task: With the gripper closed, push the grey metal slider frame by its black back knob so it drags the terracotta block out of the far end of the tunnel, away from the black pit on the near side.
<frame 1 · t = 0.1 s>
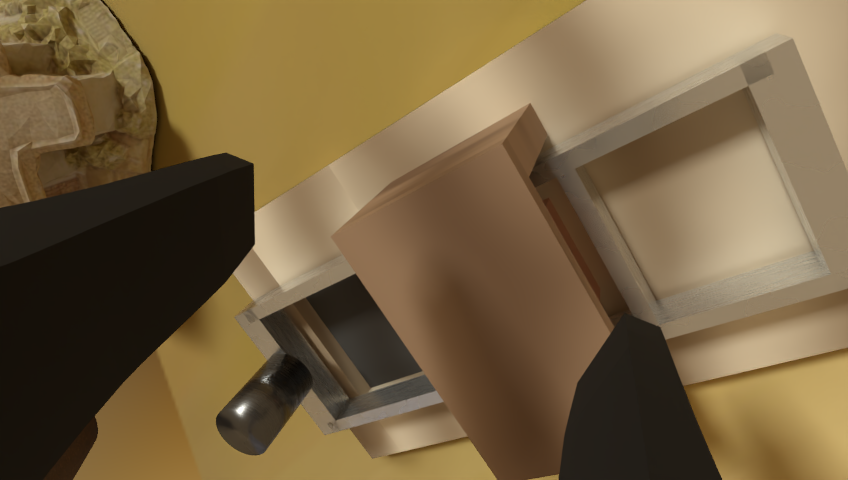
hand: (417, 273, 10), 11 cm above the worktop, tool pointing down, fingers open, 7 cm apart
tunnel deck: (529, 252, 20), on the worktop
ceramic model: (83, 134, 26), on the worktop
block: (525, 264, 19), point 1 cm above the worktop, touching tunnel deck
plant pot: (60, 402, 38), on the worktop
slider frame: (468, 320, 18), point 4 cm above the worktop, slide at 0.0 cm
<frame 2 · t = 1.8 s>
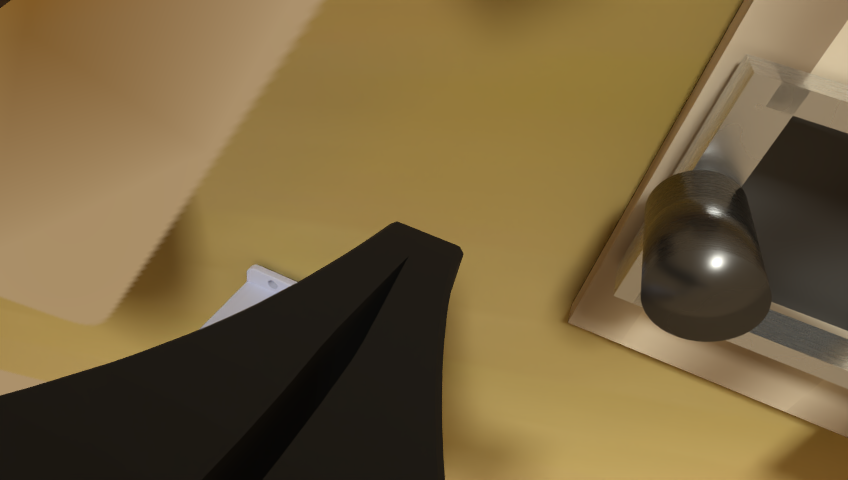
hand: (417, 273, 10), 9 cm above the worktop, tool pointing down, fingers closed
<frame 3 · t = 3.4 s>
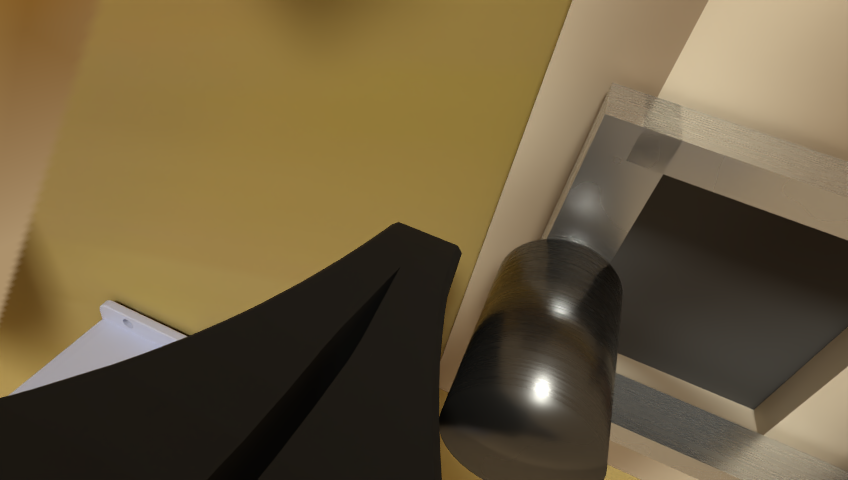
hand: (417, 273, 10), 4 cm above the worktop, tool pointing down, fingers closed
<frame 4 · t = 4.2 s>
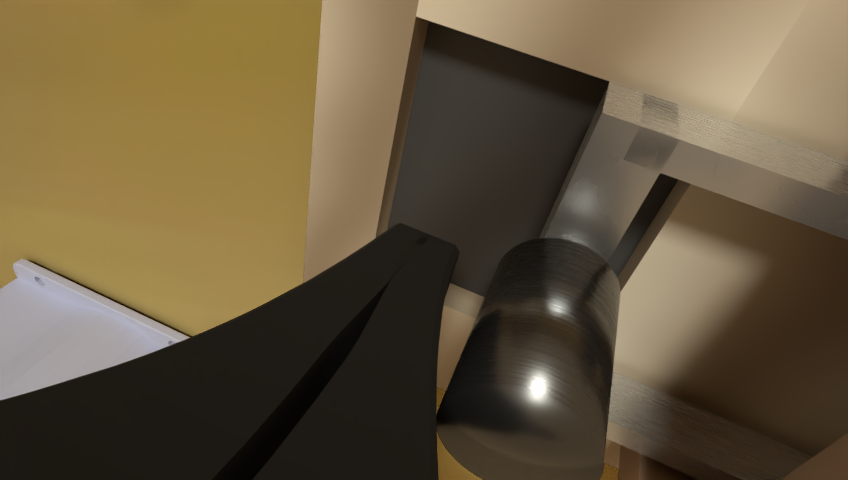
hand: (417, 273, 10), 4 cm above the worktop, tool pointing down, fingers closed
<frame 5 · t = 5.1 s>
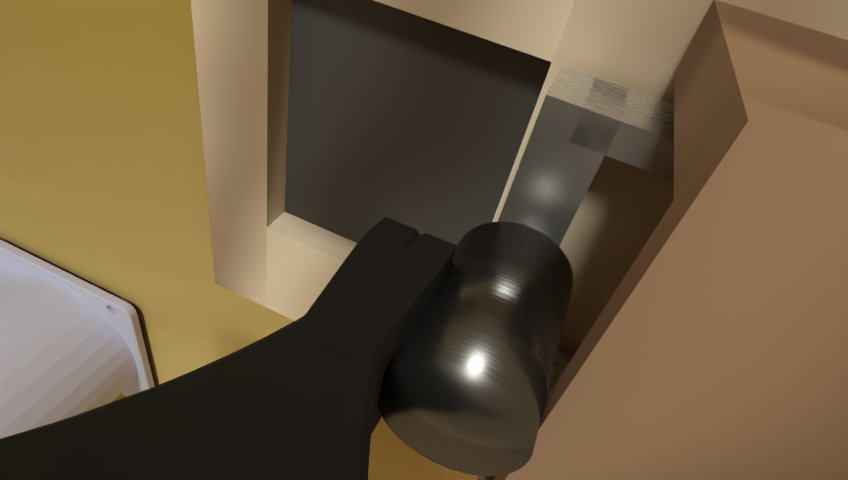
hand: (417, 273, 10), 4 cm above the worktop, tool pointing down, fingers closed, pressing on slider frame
tunnel deck: (715, 272, 12), on the worktop
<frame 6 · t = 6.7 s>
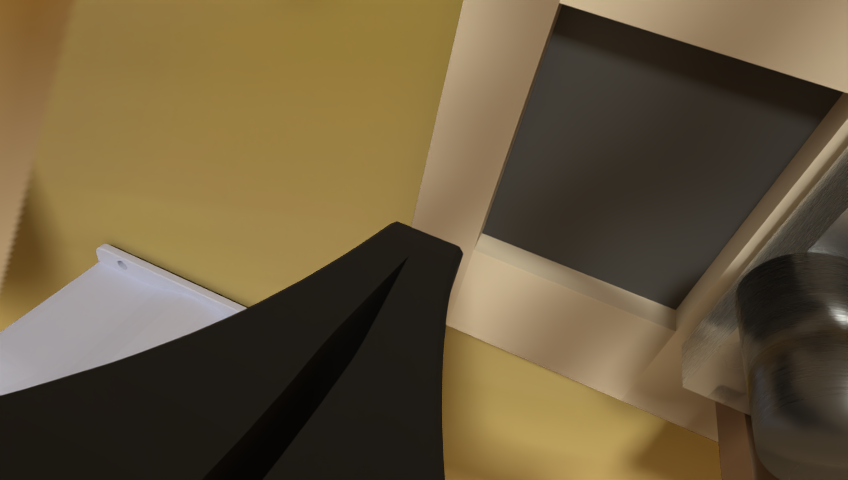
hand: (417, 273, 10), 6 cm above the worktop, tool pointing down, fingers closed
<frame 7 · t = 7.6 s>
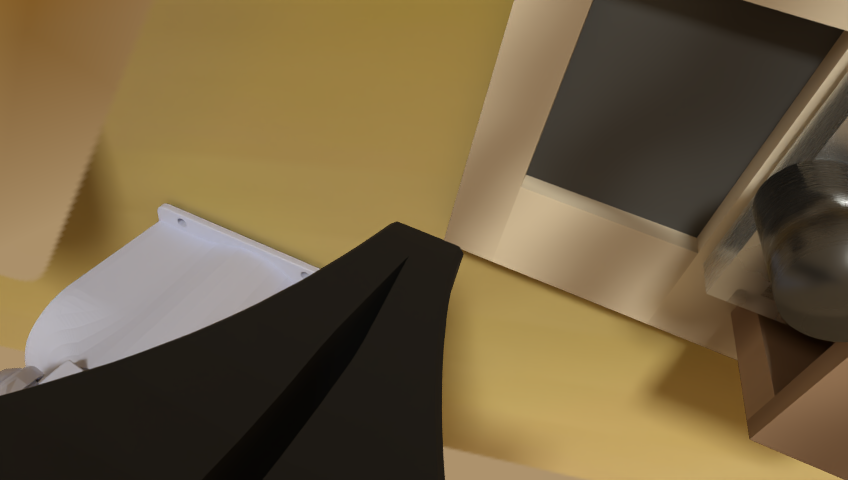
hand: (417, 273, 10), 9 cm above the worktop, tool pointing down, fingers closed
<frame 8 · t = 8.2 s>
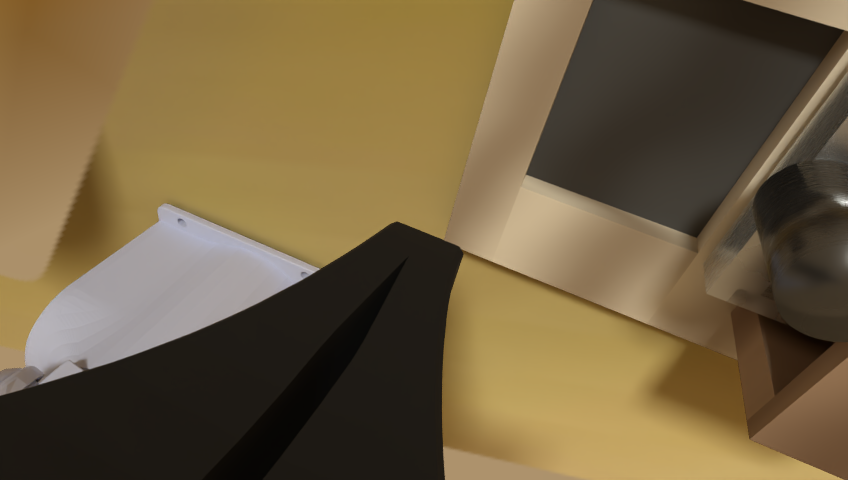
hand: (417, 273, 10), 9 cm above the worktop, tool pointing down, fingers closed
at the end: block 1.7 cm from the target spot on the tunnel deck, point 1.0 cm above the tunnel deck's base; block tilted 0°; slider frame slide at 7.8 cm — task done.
